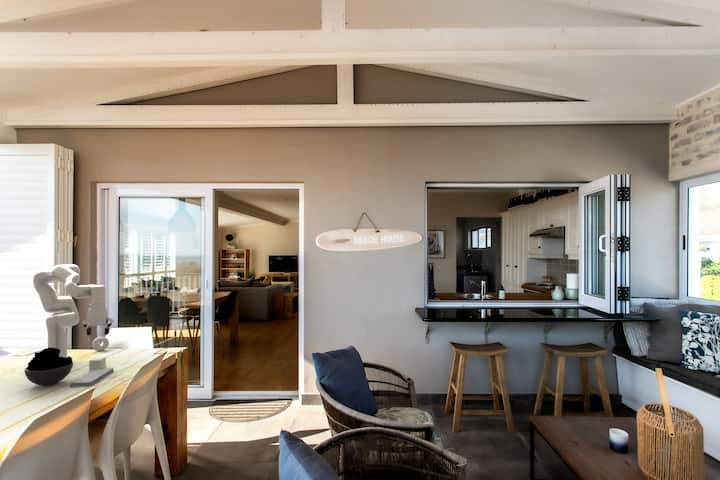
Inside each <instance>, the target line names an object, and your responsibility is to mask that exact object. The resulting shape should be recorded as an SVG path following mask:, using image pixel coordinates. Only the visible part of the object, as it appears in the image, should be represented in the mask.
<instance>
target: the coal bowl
mask: <svg viewBox="0 0 720 480" xmlns="http://www.w3.org/2000/svg"><path fill="white" fill-rule="evenodd" d="M59 354H60V349H57V348H53V347H52V348H48V347H46V348H44V349H42V350H40V351H38V352H37V351H36V352H34V357H32V358H31V360H30V361H29V362H28V363H27V367H25V368H24V373H25V374H24V375H25V377H26V378H27V380H28V381H30V382H31V383H32V384H34V385H36V386H37V385H38V386H45V387H46V386H51V385H55V384H58V383H60V382H62V381H63V380H64V379H65V378H67V377H68V375H69V374H70V373H71V371H72V369H73V366H74V361H73V357H72V356H70V355H69V356H68V355H67V357H66V358H65V357H59Z"/></svg>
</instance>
